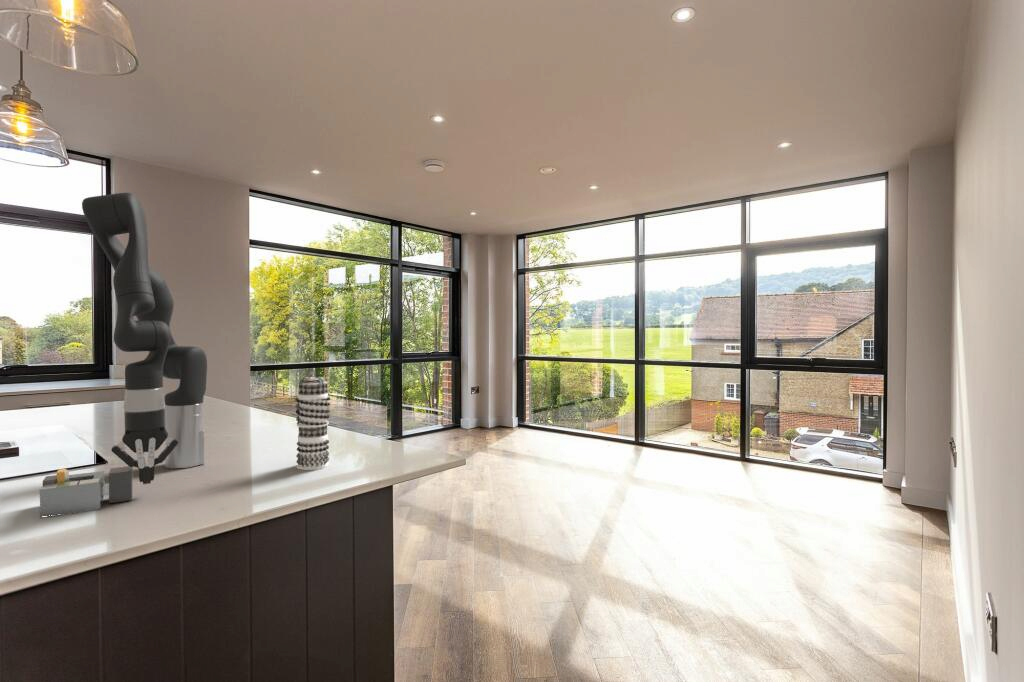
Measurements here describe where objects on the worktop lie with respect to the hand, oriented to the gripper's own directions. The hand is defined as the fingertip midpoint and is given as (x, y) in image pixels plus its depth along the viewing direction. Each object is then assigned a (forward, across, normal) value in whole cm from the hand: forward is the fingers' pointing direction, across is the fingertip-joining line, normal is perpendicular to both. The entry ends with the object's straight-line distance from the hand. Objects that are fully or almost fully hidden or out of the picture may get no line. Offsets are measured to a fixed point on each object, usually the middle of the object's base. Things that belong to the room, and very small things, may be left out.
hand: (146, 483), depth 117 cm
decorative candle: (+4, -38, -6) cm, 39 cm away
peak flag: (+2, +15, 0) cm, 15 cm away
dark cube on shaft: (+3, +8, 0) cm, 9 cm away
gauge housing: (+3, +13, 0) cm, 13 cm away
